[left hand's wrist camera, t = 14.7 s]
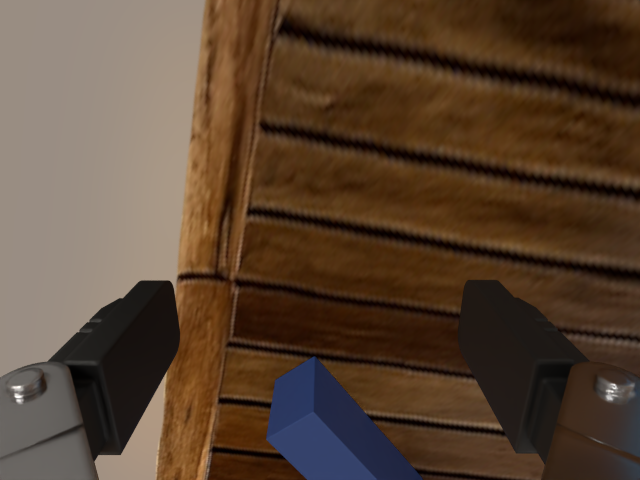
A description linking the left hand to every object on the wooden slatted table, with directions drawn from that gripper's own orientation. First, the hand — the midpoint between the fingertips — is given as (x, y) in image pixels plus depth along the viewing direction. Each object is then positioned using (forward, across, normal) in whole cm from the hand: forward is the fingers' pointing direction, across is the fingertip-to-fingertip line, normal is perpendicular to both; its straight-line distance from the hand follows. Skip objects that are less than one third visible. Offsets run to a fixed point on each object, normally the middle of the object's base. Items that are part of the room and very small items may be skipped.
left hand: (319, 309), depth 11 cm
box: (+30, +4, -36) cm, 47 cm away
